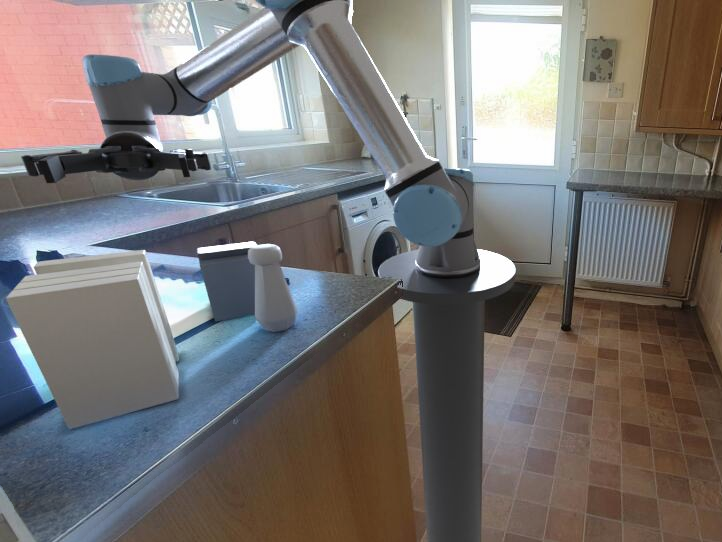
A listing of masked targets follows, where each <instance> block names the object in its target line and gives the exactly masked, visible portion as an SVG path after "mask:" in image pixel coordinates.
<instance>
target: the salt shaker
mask: <svg viewBox="0 0 722 542" xmlns="http://www.w3.org/2000/svg"><path fill="white" fill-rule="evenodd" d="M248 259H249V262H250V263H251V264H254V265H255V314H254V319H255V320H256V322H257V323H258V324H259V325H260V326H261V327H262V329H263V330H265V331H268V332H271V333H277V332H282V331H287V330H289V329H290V328H291V327H293V326H294V325H295V323H296V319H297V316H298V307H297V305H296V302H295V300H294V297H293V295H292V292H291V290H290V287H289V284H288V282H287V279H286V277H285V275H284V271H283V269H282V266H281V264H280V262H281V261H282V260H283V253H282V250H281V248H280V247H279V245H276V244H271V243H266V244H265V243H262V244H257V246H254V247H252V248H250V249H249V250H248Z"/></svg>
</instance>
